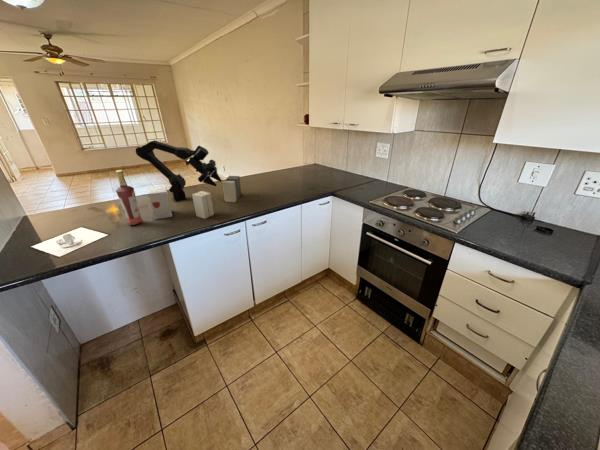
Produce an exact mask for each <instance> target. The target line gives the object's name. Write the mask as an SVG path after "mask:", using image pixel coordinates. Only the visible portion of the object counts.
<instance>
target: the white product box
mask: <svg viewBox="0 0 600 450" xmlns="http://www.w3.org/2000/svg"><path fill="white" fill-rule="evenodd" d="M167 188H168V187H167V186H162V187H153V188H148V189H147V191H148V192H147V196H148V199H149V203H150V207H151V211H152V214H153V219H154V220H160V219H167V218H172V217H173V210H172V207H171V206H172V205H171V202H170V197H169V193H168V189H167Z"/></svg>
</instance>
